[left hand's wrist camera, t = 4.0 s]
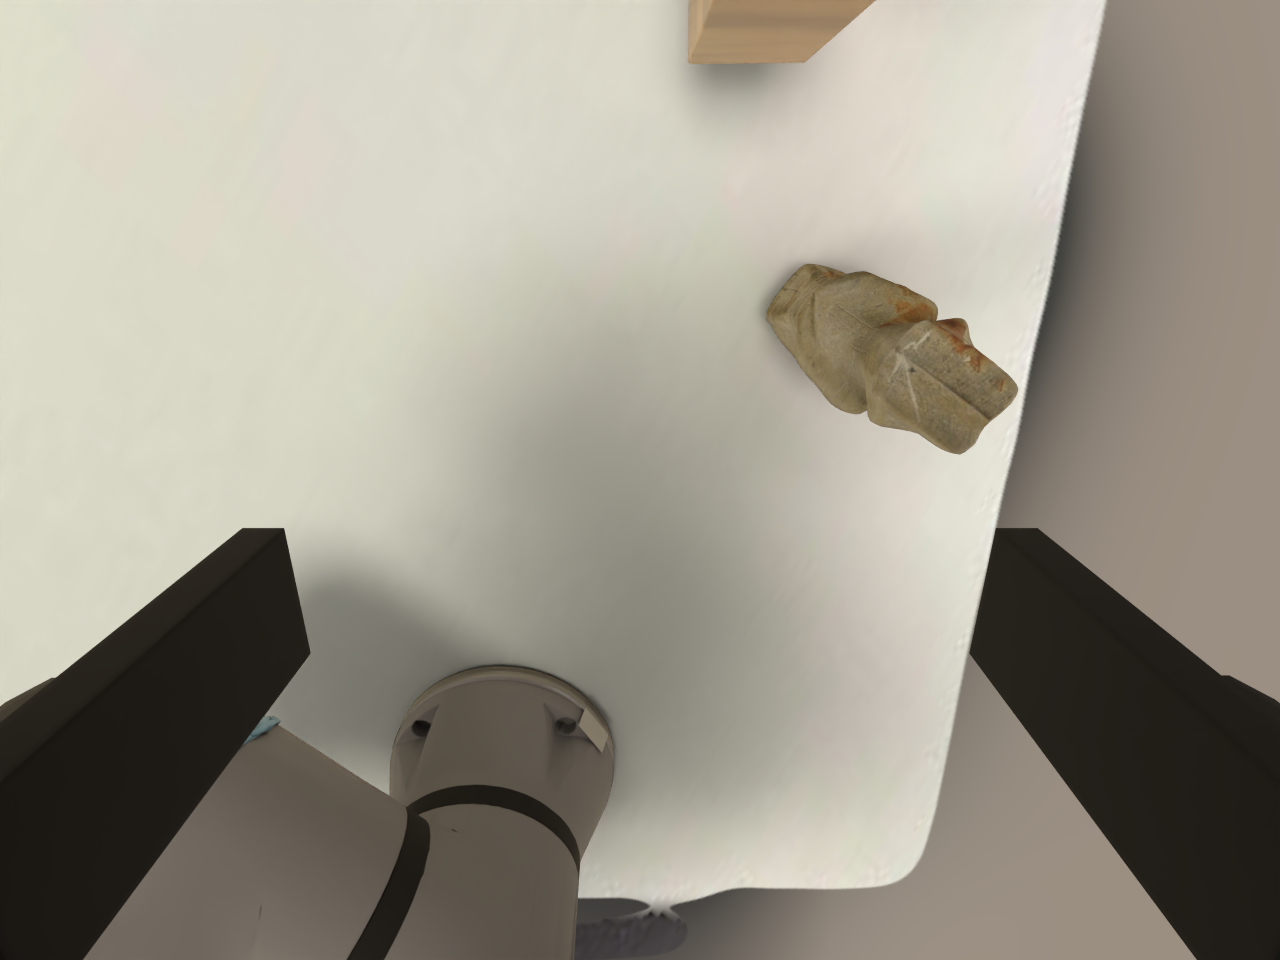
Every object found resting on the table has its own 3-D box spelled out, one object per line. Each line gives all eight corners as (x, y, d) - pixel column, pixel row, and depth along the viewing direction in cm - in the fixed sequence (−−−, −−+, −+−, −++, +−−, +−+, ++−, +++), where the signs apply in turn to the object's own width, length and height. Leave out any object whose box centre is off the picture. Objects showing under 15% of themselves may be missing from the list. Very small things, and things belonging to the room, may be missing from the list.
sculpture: (830, 401, 40) (939, 500, 26) (738, 321, 38) (802, 380, 24) (904, 322, 38) (1064, 382, 24) (812, 235, 36) (926, 244, 22)
